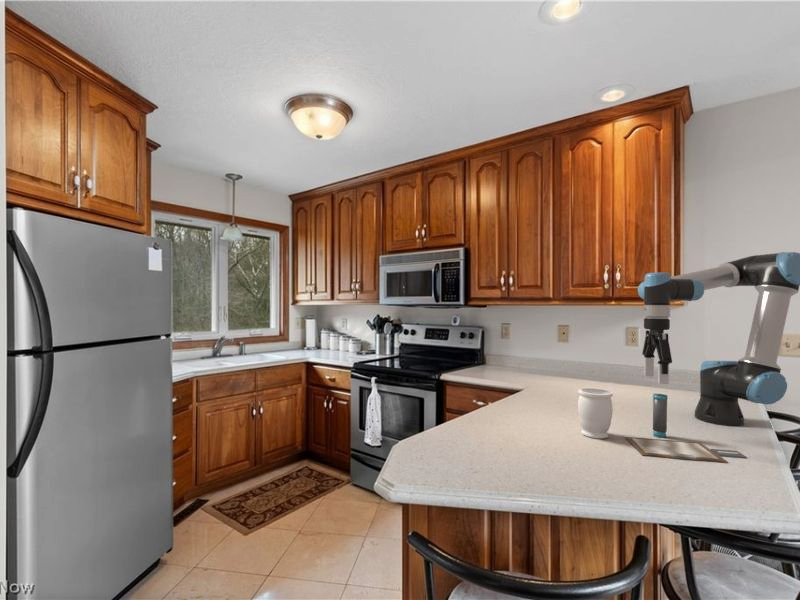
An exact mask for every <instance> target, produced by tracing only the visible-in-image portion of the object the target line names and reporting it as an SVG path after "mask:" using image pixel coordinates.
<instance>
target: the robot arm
mask: <svg viewBox="0 0 800 600" xmlns="http://www.w3.org/2000/svg"><path fill="white" fill-rule="evenodd" d="M643 280H644V281H641V282H640V284H639V285H638V288H637V294H638V296H639V297H640V299H642V300H643V304H644V305H643V306H644V307H643V308H642V311H643V313H644V314H643V316H644V319H643V329H645V338H644V342H643V343H644V344H643V347H642V348H643V349H642V352H641V353H642V355H643V356H644V377H651V378H652V377H654V373H655V372H654V371H655V370H654V369H655V358H656V357H655V351H656V353H657V356H658V357H657V358H658V359H659V360H658V362H657V364H658V384H659V385H669V382H670V381H669V380H670V379H669V378H670V376H669V375H670V372H669V371H670V364H672V363H673V359H672V358H673V357H672V353H671V347H670V342H669V341H670V340H669V333H666V332H665V331H668V330H670V326H671V325H670V324H671V322H670V321H671V320H670V319H669V318H670V317H671V301H673V302H676V301H677V302H679V301H681V302H682V301H684V302H686V301H687V302H692V301H699V300H700V299H702V297H703V296H704V293H705V291H706V290H710V289H716V288H721V287H724V288H733V287H754V289H755V290H756V291H757V292H758V295H757V299H756V305H755V310H754V314H753V318H752V322H751V325H750V326H751V328H750V332H749V336H748V340H747V345H746V349H745V353H744V354H745V355H744V356H743V357H742V358H740V359H738V361H737V360H704V361H702V362H701V364H700V369H699V370H700V371H699V373H700V375H699V376H700V377H699V379H700V381H699V383H700V384H699V385H700V386H699V387H700V389H699V390H700V392H699V393H700V395H699V397H700V398H699V400H698V403H697V405H696V407H695V408H694V417H695V418H696V419H697V420H700V421H703V422H706V423H711V424H715V425H716V424H717V425H721V426H733V427H734V426H735V427H736V426H743V425H744V424H745V418H744V415H743V412H742V410H741V406H740V404H739V399H740V400H745V401H747V402H751V403H755V404H762V405H772V404H776V403H777V402H779V401H780V400H781V399H783V397H784V396H785V394H786V392H787V390H788V382H787V381H786V380H787V379H786V377H785V376H784V375H783V374H782V373H781V370H782V368H781V367H780V366H779V364H777V361H778V357H779V353H780V352H779V351H780V347H781V344H782V339H783V334H784V329H785V326H786V322H787V321H786V320H787V317H788V311H789V307H790V303H791V298H792V296H794V295H797V294H798V293H799V289H800V252H796V251H790V252H785V251H782V252H776V253H768V254H767V253H766V254H757V255H756V254H755V255H750V256H746V257H743V258H738V259H735V260H732V261H727V262H724V263H721V264H719V265H718V266H716V267H712V268H708V269H702V270H698V271H692V272H688V273H684V274H679V275H675V276H674V275H673V276H671V273H670V272H659V271H658V272H648V273H646V274H645V275H644V279H643ZM664 332H665V333H664Z"/></svg>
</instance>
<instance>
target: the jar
mask: <svg viewBox="0 0 800 600" xmlns="http://www.w3.org/2000/svg"><path fill="white" fill-rule="evenodd" d="M577 391H578V394H579V397H578V401H577V412H578V418H579V423H580V426H581V431H580V433H581V434H582V435H583V436H585V437H587V438H592V439H598V440H600V439H603V440H605V439H607V438H609V437H610V436H609V433H608V431H609V429H610V428H611V424H612V423H611V422H612V419H613V410H614V409H613V402H612V401H613V400H612V397H613V392H612V391H609V390H605V389H601V388H600V389H599V388H592V387H591V388H590V387H585V388H578V389H577Z"/></svg>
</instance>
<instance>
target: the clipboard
mask: <svg viewBox="0 0 800 600" xmlns="http://www.w3.org/2000/svg"><path fill="white" fill-rule="evenodd" d="M625 439H626V441H628V442H629V444H631V445H632V446H633V448H634V449H635V450H636V451H637V452H638V453H639V454H640V455H641V456H643V457H653V458H655V457H656V458H664V459H665V458H666V459H677V460H689V461H697V462H698V461H700V462H709V463H710V462H712V463H724V464H728V463H729V462H728V461H727V460H726V459H725V458H724V457H723V456H719V455H717V454H716V453H715V452H713V451H712V450H711V448H709V447H708V446H706V445H705V444H703V443H702V442H698V441H697V442H696V441H688V440H687V441H685V440H684V441H683V440H674V439H673V440H672V439H662V438H646V437H633V436H625Z"/></svg>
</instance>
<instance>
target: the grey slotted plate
mask: <svg viewBox="0 0 800 600" xmlns="http://www.w3.org/2000/svg"><path fill="white" fill-rule="evenodd" d="M710 450H712V451H713V452H715V453H716V454H717V455H719V456H720V457H727V458H740V459H747V458H748V457H747V455H744V454H743V453H742V452H739V451H738V450H732V449H731V450H729V449H719V448H710Z"/></svg>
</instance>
